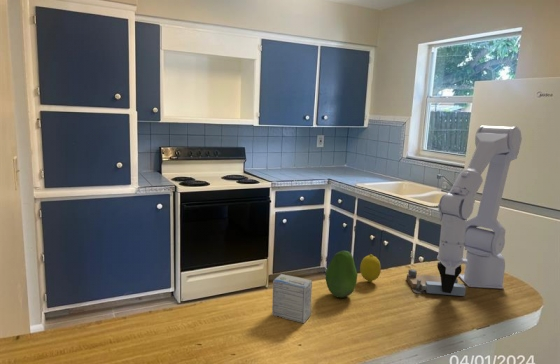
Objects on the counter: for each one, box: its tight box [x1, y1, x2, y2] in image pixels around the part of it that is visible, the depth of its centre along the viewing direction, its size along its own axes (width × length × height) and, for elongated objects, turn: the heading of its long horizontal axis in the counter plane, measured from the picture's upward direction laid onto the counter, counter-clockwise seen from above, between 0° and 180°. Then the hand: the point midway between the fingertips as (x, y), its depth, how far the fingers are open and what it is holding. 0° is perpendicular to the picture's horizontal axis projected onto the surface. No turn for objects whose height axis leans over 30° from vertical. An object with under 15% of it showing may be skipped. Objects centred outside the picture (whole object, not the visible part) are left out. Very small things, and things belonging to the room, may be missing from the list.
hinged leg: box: [421, 281, 466, 297], centre depth 105 cm, size 11×2×2 cm, turn 83°
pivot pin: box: [412, 279, 424, 295], centre depth 106 cm, size 3×3×3 cm
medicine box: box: [271, 273, 313, 324], centre depth 91 cm, size 8×4×9 cm, turn 65°
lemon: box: [359, 253, 382, 283], centre depth 111 cm, size 6×6×8 cm
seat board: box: [406, 268, 458, 290], centre depth 111 cm, size 12×7×3 cm, turn 86°
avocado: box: [325, 250, 358, 299], centre depth 101 cm, size 8×8×12 cm
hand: (446, 291), depth 103 cm, fingers closed
